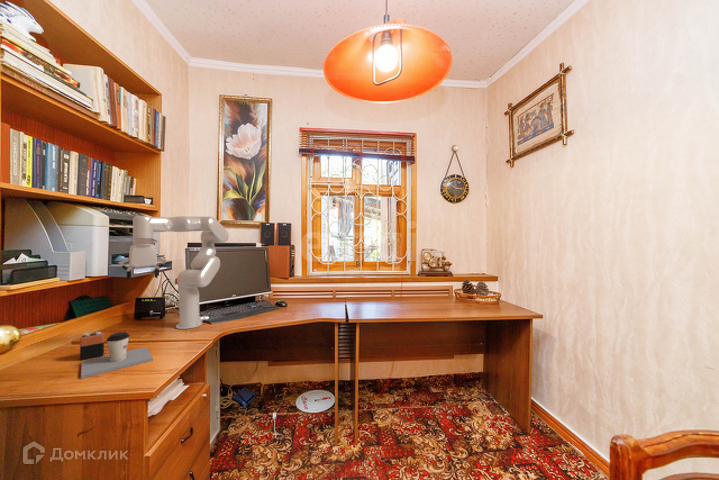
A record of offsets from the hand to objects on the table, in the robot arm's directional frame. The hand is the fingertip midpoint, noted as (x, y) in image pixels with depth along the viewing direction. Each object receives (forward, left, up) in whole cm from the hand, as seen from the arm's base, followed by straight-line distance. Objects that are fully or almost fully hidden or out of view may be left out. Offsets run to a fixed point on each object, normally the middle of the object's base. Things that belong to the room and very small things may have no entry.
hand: (143, 278), depth 126 cm
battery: (+17, +4, -31) cm, 35 cm away
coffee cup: (+10, +18, -30) cm, 36 cm away
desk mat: (+10, +18, -30) cm, 37 cm away
